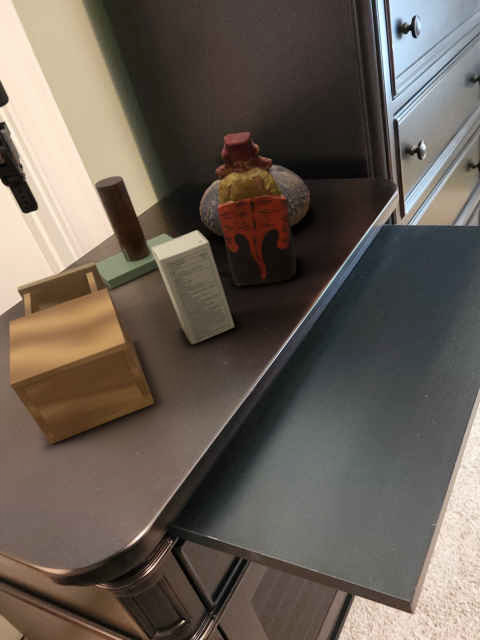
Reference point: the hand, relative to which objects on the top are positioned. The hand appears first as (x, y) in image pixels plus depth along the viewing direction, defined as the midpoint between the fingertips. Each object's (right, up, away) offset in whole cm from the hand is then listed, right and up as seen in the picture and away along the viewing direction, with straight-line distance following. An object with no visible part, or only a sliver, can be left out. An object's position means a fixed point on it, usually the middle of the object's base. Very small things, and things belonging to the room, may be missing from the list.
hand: (31, 210), depth 72 cm
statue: (+31, -8, +5) cm, 33 cm away
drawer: (+7, -17, 0) cm, 18 cm away
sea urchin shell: (+30, +5, +19) cm, 36 cm away
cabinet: (+13, -25, -10) cm, 30 cm away
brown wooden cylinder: (+11, -2, +13) cm, 17 cm away
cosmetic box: (+25, -17, -4) cm, 31 cm away
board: (+11, -4, +14) cm, 18 cm away
